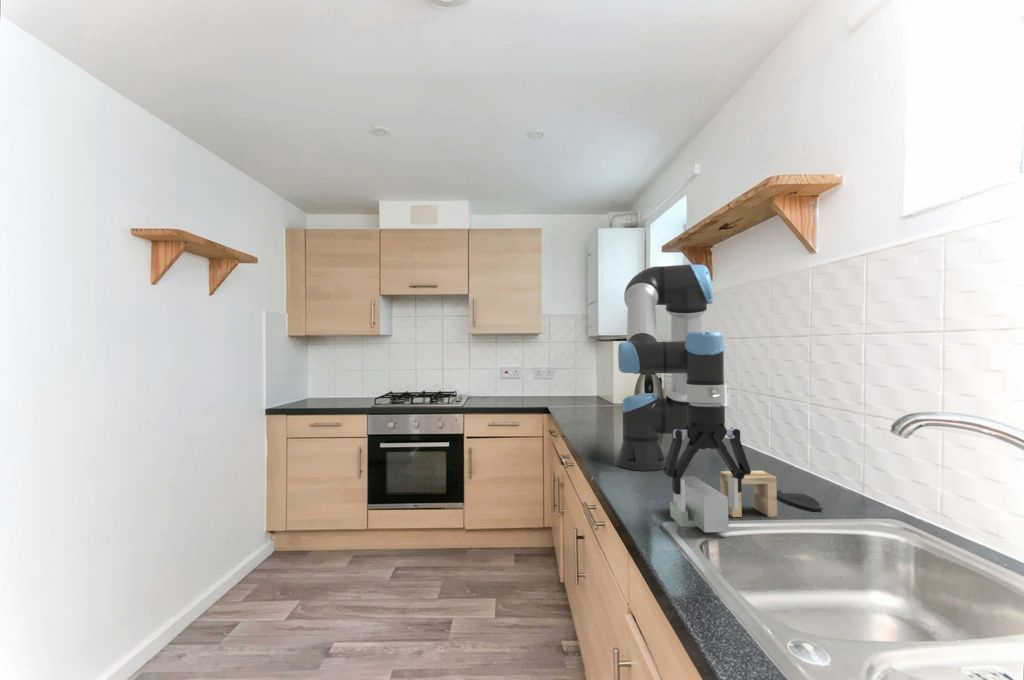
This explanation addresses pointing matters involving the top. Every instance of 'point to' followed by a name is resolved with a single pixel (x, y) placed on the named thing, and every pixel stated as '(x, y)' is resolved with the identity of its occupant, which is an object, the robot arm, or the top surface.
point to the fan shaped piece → (800, 501)
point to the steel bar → (705, 505)
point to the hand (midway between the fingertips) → (707, 508)
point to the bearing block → (755, 492)
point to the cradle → (680, 516)
